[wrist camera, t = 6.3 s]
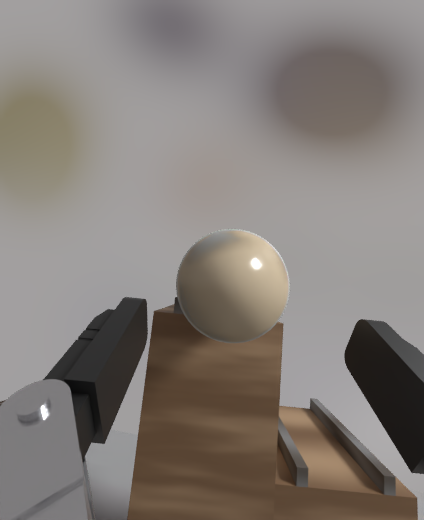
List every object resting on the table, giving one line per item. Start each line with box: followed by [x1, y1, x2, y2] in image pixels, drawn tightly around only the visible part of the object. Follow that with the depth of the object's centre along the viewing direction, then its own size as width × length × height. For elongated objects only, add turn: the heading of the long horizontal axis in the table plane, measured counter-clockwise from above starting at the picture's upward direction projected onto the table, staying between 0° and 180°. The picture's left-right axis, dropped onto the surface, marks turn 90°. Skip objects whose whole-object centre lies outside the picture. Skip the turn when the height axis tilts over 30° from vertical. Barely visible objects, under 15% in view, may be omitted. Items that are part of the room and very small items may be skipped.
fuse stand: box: [127, 297, 418, 520], centre depth 21 cm, size 12×20×33 cm, turn 91°
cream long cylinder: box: [176, 229, 290, 343], centre depth 19 cm, size 20×4×4 cm, turn 1°
